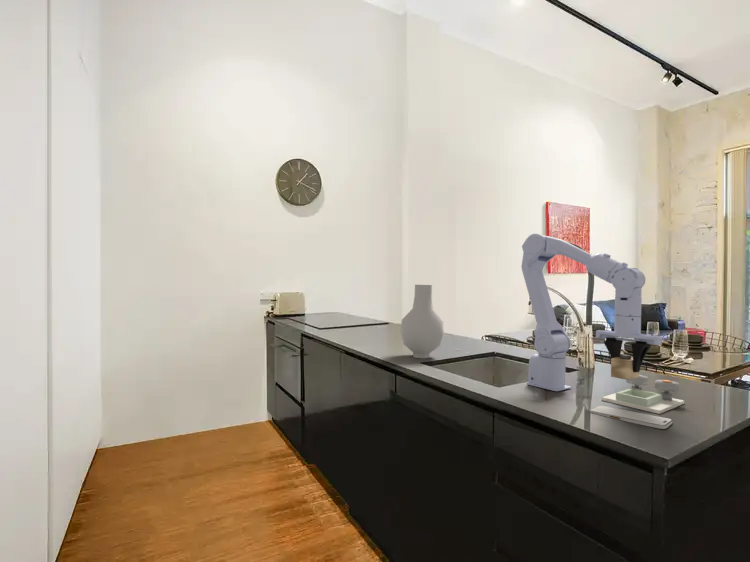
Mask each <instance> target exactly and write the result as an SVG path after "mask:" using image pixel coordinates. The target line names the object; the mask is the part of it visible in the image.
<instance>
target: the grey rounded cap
mask: <svg viewBox="0 0 750 562" xmlns="http://www.w3.org/2000/svg"><path fill="white" fill-rule="evenodd" d="M654 382H655V383H654V384H655V385H654V388H655V389H656V390H660V391H663V392H664V393H672V392H676V393H677V392H679V391H680V383H679V382H677V381H674V380H673V381H672V380H670V379H669V380H668V379H655V381H654Z"/></svg>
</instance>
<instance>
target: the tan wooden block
mask: <svg viewBox="0 0 750 562" xmlns="http://www.w3.org/2000/svg"><path fill="white" fill-rule="evenodd" d="M610 362H611V363H610V377H611V378H616V379H622V380H625V381H626V380H630V379H634V378H637V377H639V375H640V372H633V356H632V355H630V354H621V353H620V357H615V358H611V357H610Z"/></svg>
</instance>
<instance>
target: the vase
mask: <svg viewBox="0 0 750 562" xmlns="http://www.w3.org/2000/svg"><path fill="white" fill-rule="evenodd" d="M432 293H433V285H432V284H414V298H413V303H412V309H410V311H409V312H408V313H407V314H405V316H404V317H403V318H402V319H401V324H400V335H401V339H402V344H403V345H404V346H405V347H406V348H408V350H409V351H411V352H412V357H413V358H416V359H429V358H430V357H431V355H430V354H431V353H432V352H433V351H435V350H436V349H438V348H439V347H440V346H441V343H442V340H443V337H444V334H445V333H444V332H445V331H444V321H443V319H442V318H441V317H440V316H439V315H438V314H437V312H436V311H435V310H434V309H433V298H432V297H433V294H432Z"/></svg>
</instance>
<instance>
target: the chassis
mask: <svg viewBox="0 0 750 562" xmlns="http://www.w3.org/2000/svg"><path fill="white" fill-rule="evenodd" d="M625 382H626V383H628V384H631V385H632V386H631V387H630V388H627V389H623V390H620V391H617V392H615V393H612V394H608V395H604V396H602V397H601V401H603V402H608V403H610V404H611V403H612V404H617V405H620V406H625V407H629V408H633V409H637V410H642V411H646V412H648V413H649V412H650V413H654V414H659V415H660V414H663V413H665V412H667V411H670V410H673V409H675V408H677V407H679V406H682V405H684V404H685V400H683V399H680V398H679V399H678V398H674V397H673V393H672V392H669V393H664V391H661V393H657V392H653V391H647V390H643V387H642V386H648V385H649V377H648V376H646V375H641V374H639V377H637V378H634V379H630V380H625Z"/></svg>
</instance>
